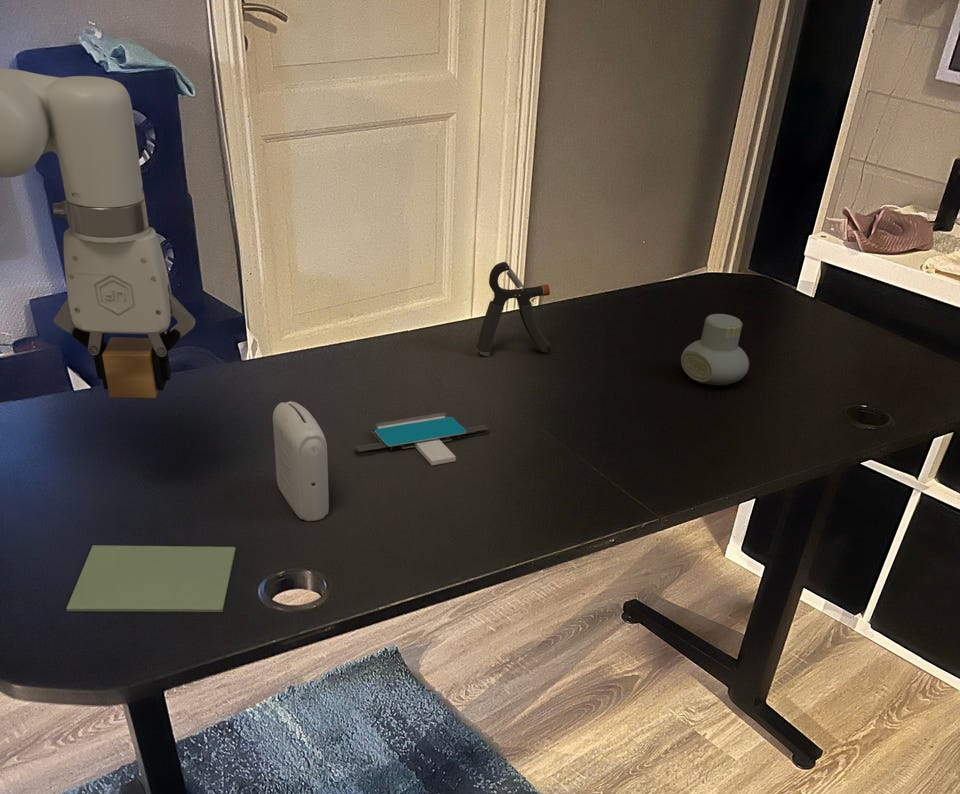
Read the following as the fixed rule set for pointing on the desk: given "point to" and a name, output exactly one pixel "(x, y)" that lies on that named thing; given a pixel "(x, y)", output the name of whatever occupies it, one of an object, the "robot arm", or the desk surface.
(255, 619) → the desk surface
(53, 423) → the desk surface
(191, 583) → the mat
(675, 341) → the desk surface
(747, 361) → the air freshener
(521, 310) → the hand grip strengthener
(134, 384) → the block
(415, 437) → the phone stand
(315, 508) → the photo printer
